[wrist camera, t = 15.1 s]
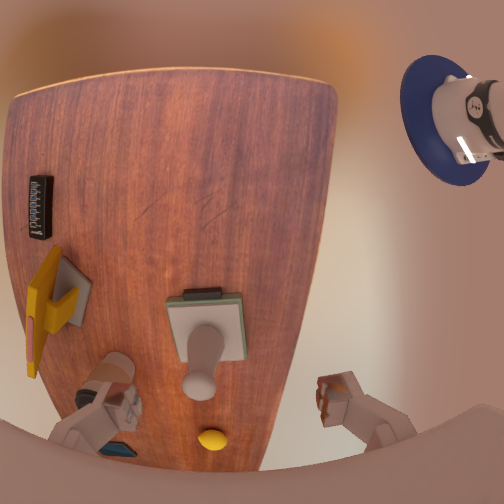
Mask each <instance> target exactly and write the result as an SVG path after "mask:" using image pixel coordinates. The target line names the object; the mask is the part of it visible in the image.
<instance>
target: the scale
mask: <svg viewBox="0 0 504 504" xmlns="http://www.w3.org/2000/svg"><path fill="white" fill-rule="evenodd" d="M165 304H166V309H167V313H168V317H169V322H170V326H171V330H172V334H173V338H174V342H175V346H176V349H177V353H178V357H179V360H180V361H181V362H188V358H187V341H188V338H189V335H190V334H191V333H192V332H193V331H194V330H195V329H197V328H198V327H199V326H209V325H211V326H213V327H214V328H215V329H216V330H218V331H219V332H220V333H221V335H222V336H223V338H224V343H225V348H224V351H223V353H222V356H221V359H220V361H236V360H244V359H247V347H246V337H245V327H244V317H243V307H242V297H241V293H233V294H222V289H221V287H220V288H205V289H188V290H184V292H183V297H168V298H167V300H166V302H165Z"/></svg>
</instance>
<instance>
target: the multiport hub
mask: <svg viewBox="0 0 504 504" xmlns="http://www.w3.org/2000/svg"><path fill="white" fill-rule="evenodd" d="M53 181H54V177H53V176H47V175H36V176H31V177H30V183H29V236H30V238H34V239H39V240H46V239H48V238H50V237H52V196H53Z"/></svg>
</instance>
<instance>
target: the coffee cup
mask: <svg viewBox="0 0 504 504" xmlns="http://www.w3.org/2000/svg"><path fill="white" fill-rule="evenodd" d="M134 373H135V365H134V363H133V362H132V360H131V359H130V358H129V357H127V356H126V355H124V354H122V353H120V352H110V353H108V354H107V355H106V356H105V358H104V359H103V360H102V362H101V363H100V364H99V365H98V366H97V367H96V368H95V370H94V371H93V372H92V373H91V375H90V376H89V377H88V379H87V380H86V381H85V382H84V384H83V387H82V388H81V389H80V390H79V391H77V393H76V398H75V402H76V405H77V407H78V410H79V409H81V408H83V407H84V406H86V405H87V404H89V403H91V404H92V403H93V401H94V399H95V397H96V395H97V393H98V391H99V389H100V387H101V386H102V384H103V382H105V381H108V382H117V383H125V384H131V382H132V379H133V376H134Z"/></svg>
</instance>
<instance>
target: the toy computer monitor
mask: <svg viewBox="0 0 504 504" xmlns="http://www.w3.org/2000/svg"><path fill="white" fill-rule="evenodd" d="M61 252H62V248H61V247H59V246H56V245H55V246H54V247H53V248H52V250H51V251H50V253H49V254H48V256H47V257H46V259H45V260H44V262H43V263H42V265H41V266H40V268H39V270H38V271H37V273H36V274H35V276H34V278H33V279H32V281H31V283H30V284H29V286H28V294H27V310H26V358H27V372H28V376H29V377H31V378H34V379H35V378H36V375H37V371H38V367H39V363H40V359H41V356H42V352H43V349H44V346H45V342H46V339H47V336H48V333H51V334H56V333H57V332H58V331H59V330H60V329H61V327H62V326H63V325H64V324H65V323H66V322H69V323H71V324H73V325H76V326H78V327H81V326H82V324H83V319H84V315H85V311H86V306H87V302H88V298H89V294H90V291H91V287H92V282H91V281H90V280H89V279H88V278H87V277H85V276H84V275H83V274H82V273H81V272H80V271H79V270H78V269H77V268H76V267H75V266H74V265H73V264H71V263H70V262H69V261H68V260H67V259H66V258H65V257H64V256H63V257H61ZM60 257H61V259H60ZM59 261H60V263H59ZM58 266H59V268H58ZM57 271H58V273H57ZM56 276H57V279H56ZM55 282H56V284H55ZM54 288H55V290H54ZM53 294H54V297H53Z"/></svg>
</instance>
